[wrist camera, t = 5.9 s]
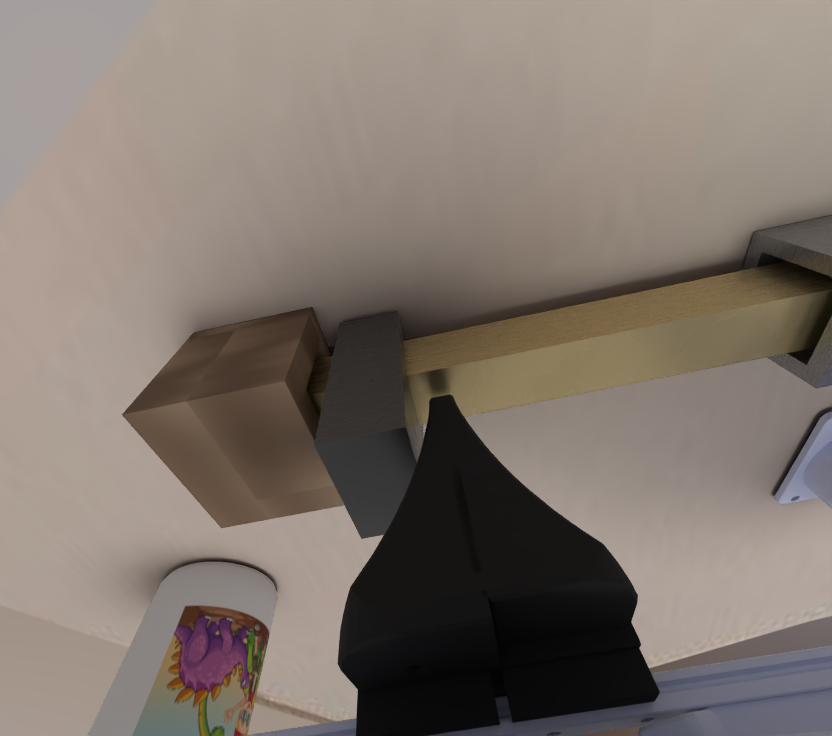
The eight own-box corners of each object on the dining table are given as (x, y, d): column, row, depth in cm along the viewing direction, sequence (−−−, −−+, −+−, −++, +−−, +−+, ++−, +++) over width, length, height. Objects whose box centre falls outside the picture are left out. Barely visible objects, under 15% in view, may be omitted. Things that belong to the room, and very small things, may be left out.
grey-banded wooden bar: (785, 228, 14) (1044, 301, 9) (748, 328, 17) (932, 435, 11) (268, 338, 15) (202, 467, 10) (307, 416, 18) (272, 554, 12)
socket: (312, 307, 15) (284, 381, 11) (354, 416, 18) (346, 504, 14) (193, 332, 15) (121, 414, 11) (257, 436, 18) (221, 528, 14)
